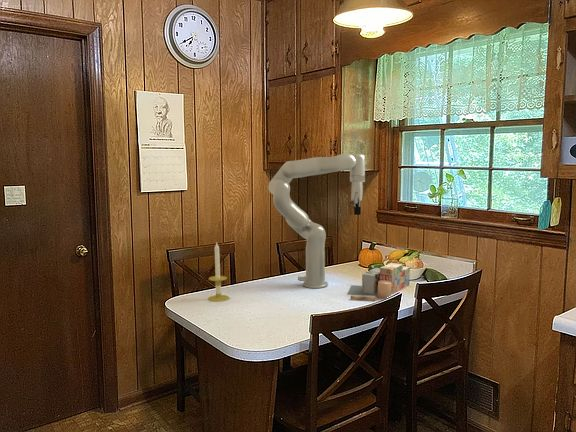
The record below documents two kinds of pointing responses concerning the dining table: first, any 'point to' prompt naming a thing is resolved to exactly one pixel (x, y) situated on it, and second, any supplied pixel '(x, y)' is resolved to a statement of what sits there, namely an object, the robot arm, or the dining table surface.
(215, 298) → the candle
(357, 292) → the mat
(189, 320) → the dining table surface
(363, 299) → the stop strip
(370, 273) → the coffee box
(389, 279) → the stack of blocks
